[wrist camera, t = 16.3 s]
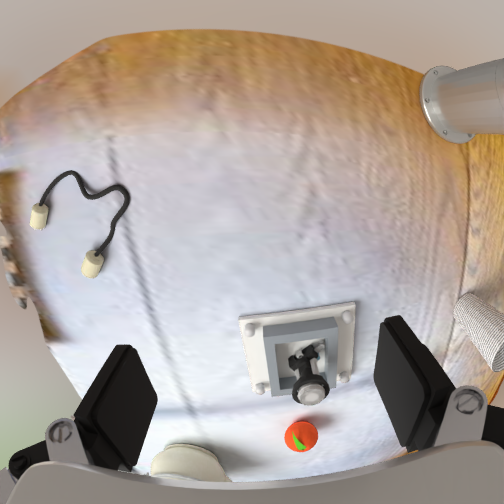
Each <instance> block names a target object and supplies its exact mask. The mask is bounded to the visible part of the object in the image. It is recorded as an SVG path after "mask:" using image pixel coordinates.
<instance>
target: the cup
mask: <svg viewBox="0 0 504 504" xmlns="http://www.w3.org/2000/svg"><path fill="white" fill-rule="evenodd" d="M453 315H454V318H455V319H456V321H457V322H458V323H459V325H460V326H461V327H462V329H463V330H464V331H465V333H466V334H467V335H468V337H469V338H470V339H471V341H472V342H473V343H474V345H475V346H476V348H477V349H478V350H479V352H480V353H481V355H482V356H483V358H484V359H485V360H486V362H487V363H488V365H489V366H490V368H491V369H492V370H493V372H499V371H501V370H503V369H504V314H503V313H501V312H500V311H498V310H497V309H495V308H494V307H492V306H491V305H489V304H488V303H486V302H485V301H483V300H482V299H480V298H479V297H477V296H476V295H474V294H472V293H467V294H464V295H463V296H461V297H460V298H459V300H458V301H457V302H456V304H455V306H454V310H453Z"/></svg>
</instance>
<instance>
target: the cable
mask: <svg viewBox="0 0 504 504" xmlns="http://www.w3.org/2000/svg"><path fill="white" fill-rule="evenodd" d="M68 175H74V176H75V178H76V180H77V182H78V184H79V187H80V189H81V192H82V194H83V195H84V197H85V198H87V199H91V200H93V199H98V198H100V197H102V196H104V195H106V194H108V193H109V192H111V191H114V190H119V191H120V192H121V193H122V194H123V195H124V198H125V201H124V204H123V206H122V207H121V209H120V210H119V211H118V213H117V214H116V215H115V217H114V218H113V220H112V222H111V230H110V234H109V236H108V237H107V239H106V240H105V242H104V243H103V244H102V246H101V247H100V248H99V249H98V250H97V251H93V250H92V251H88V252H87V253H86V256H85V258H84V261H83V264H82V266H81V272H82V273H83V275H84V276H86V277H88V278H95V277H97V275H98V273H99V271H100V268H101V266H102V264H103V262H104V258H103V256H102V255H101V254H100V253H101V252H102V251H103V250H104V249H105V248H106V247H107V245H108V244H109V243H110V241H111V239H112V238H113V235H114V231H115V224H116V222H117V220H118V219H119V218H120V217H121V215H122V214H123V213H124V211H125V210H126V208H127V206H128V204H129V195H128V192H127V191H126V190H125V189H124V188H123V187H122V186H119V185H114V186H111V187H109V188H107V189H105V190H103V191H102V192H100V193H98V194H94V195H90V194H88V193H87V191H86V190H85V187H84V185H83V182H82V180H81V178H80V176H79V175H78V173H76V172H75V171H72V170H70V171H67V172H64V173H63V174H61V175H60V176H58V177H57V178H56V179H55V180H54V181H53V182H52V183H51V184H50V185H49V187H48V188H47V189H46V191H45V193H44V194H43V196H42V198H41V200H40V203H37V204H35V205H33V207H32V212H31V219H30V225H31V227H33V228H34V229H35V230H36V229H41V231H42V230H43V228H44V227H45V226H46V220H47V215H48V210H49V209H48V207H47V206H46V205H45V204H43V203H44V201H45V199H46V197H47V195H48V193H49V192H50V190H51V189H52V188H53V187H54V186H55V184H56V183H57V182H59V181H60V180H61V179H63V178H64V177H66V176H68Z"/></svg>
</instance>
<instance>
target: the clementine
mask: <svg viewBox="0 0 504 504" xmlns="http://www.w3.org/2000/svg"><path fill="white" fill-rule="evenodd" d="M284 438H285V443H286V444H287V446H288V447H289V448H290V449H291V450H293V451H297V452H305V451H308V450H310V449H311V448H313V447H314V445H315V444H316V442H317V440H318V432H317V429H316V428H315V427H314V425H312V424H311V423H308V422H304V421H301V422H296V423H294V424H292V425H290V426H289V427H288V429H287V430H286V432H285V437H284Z"/></svg>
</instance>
